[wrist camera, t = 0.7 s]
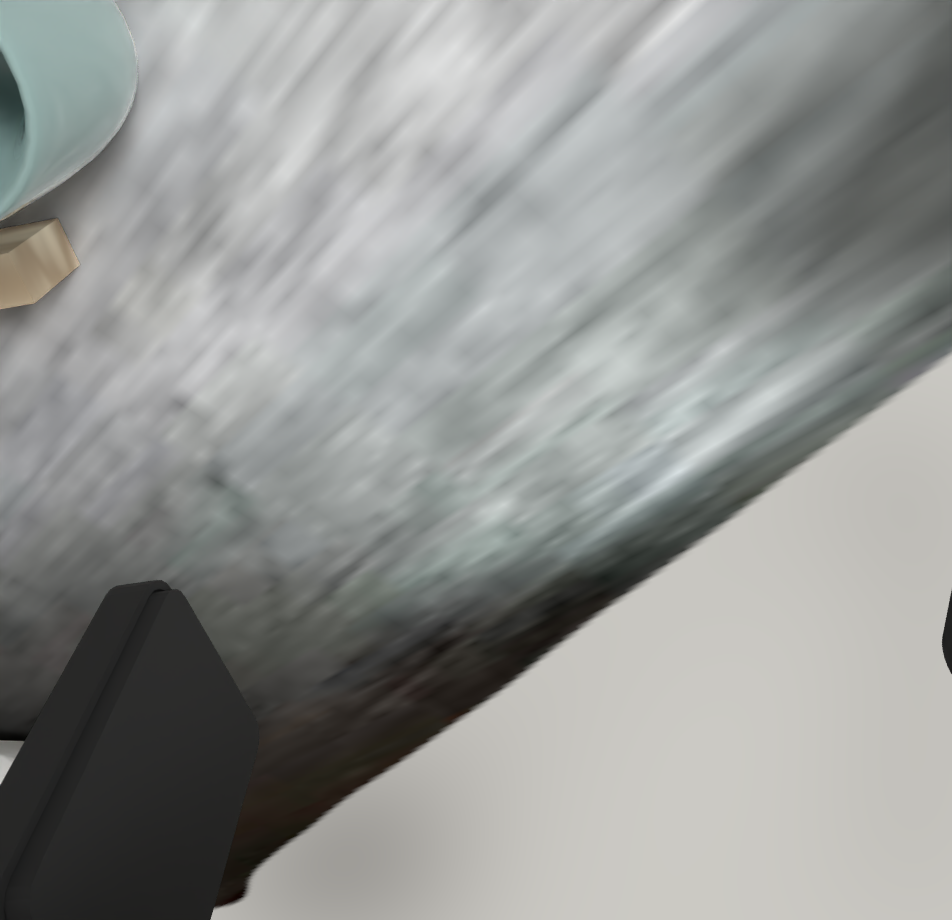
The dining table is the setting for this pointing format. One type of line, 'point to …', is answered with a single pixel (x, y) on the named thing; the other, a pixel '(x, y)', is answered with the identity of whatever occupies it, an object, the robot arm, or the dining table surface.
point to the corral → (33, 261)
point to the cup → (59, 91)
